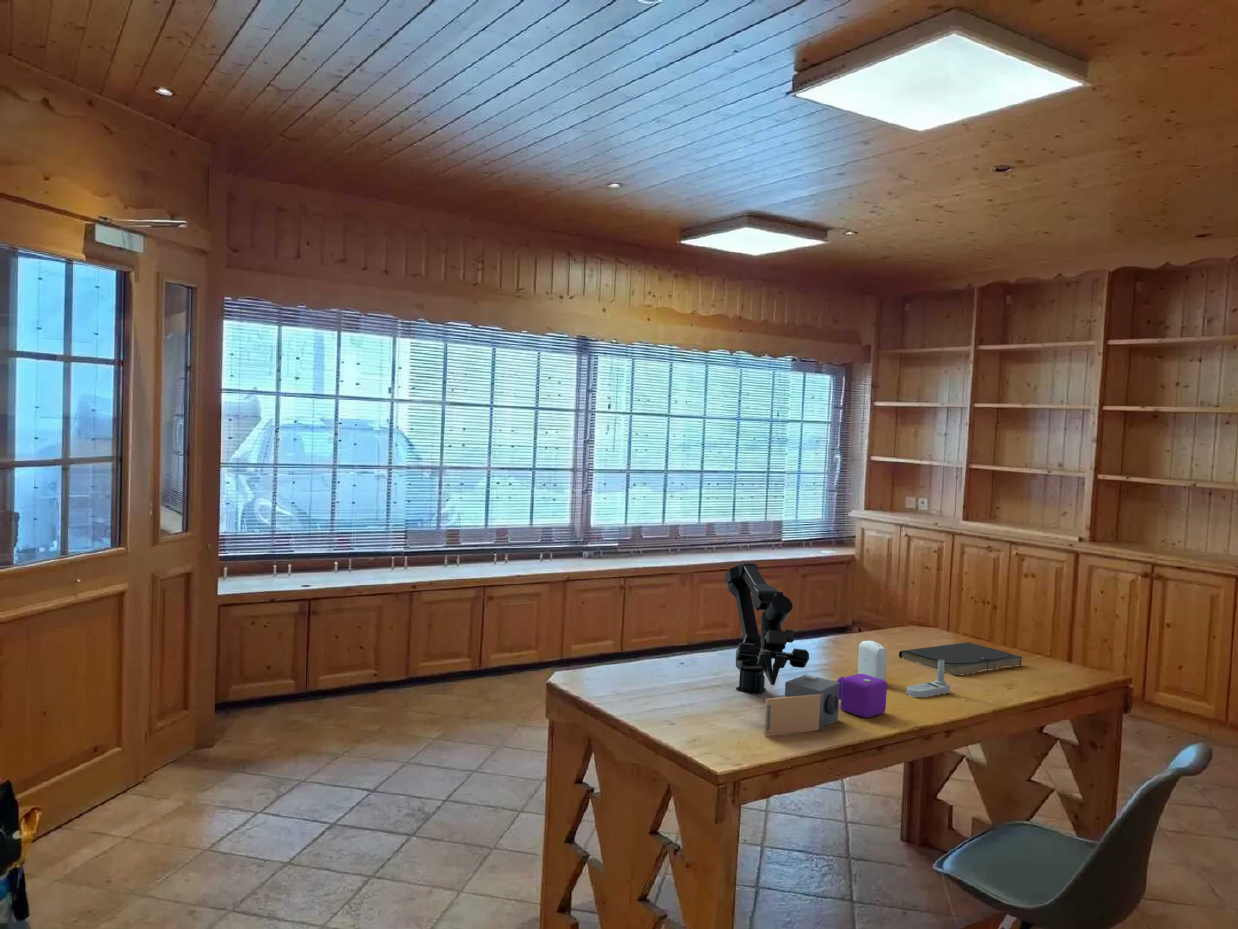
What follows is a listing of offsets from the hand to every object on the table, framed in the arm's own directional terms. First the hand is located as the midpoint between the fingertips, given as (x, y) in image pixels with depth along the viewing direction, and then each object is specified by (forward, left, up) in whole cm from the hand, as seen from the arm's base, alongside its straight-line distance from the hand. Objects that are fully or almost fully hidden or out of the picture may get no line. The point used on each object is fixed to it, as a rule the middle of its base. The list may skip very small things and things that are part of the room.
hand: (772, 684), depth 226 cm
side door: (+9, -4, -9) cm, 14 cm away
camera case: (+7, +9, -10) cm, 15 cm away
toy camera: (+12, +26, -10) cm, 30 cm away
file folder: (+12, +103, -10) cm, 104 cm away
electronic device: (+19, +57, -10) cm, 61 cm away
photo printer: (+2, +56, -10) cm, 56 cm away
